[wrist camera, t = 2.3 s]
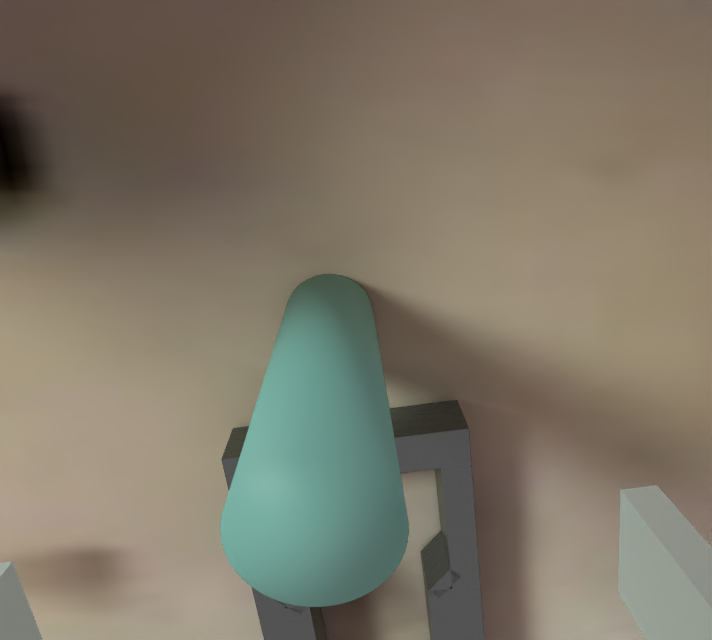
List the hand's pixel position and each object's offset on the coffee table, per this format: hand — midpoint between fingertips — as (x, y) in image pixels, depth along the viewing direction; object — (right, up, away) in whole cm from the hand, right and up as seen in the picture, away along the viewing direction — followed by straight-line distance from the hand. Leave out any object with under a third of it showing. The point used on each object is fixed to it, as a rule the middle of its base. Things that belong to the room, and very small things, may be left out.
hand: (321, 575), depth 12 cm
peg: (-1, +6, +16) cm, 17 cm away
